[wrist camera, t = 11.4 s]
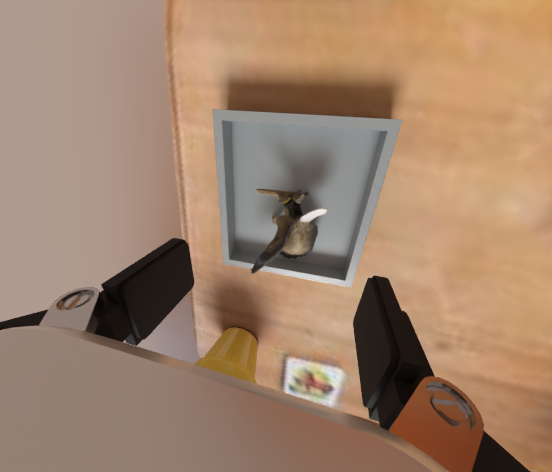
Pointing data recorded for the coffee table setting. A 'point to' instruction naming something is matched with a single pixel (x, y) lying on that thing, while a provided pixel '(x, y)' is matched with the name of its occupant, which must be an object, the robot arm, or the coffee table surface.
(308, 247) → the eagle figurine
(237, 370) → the plant pot
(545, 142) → the coffee table surface
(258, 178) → the bin
